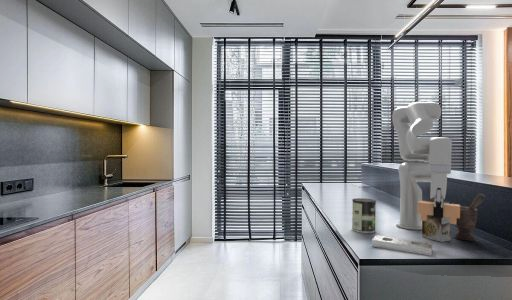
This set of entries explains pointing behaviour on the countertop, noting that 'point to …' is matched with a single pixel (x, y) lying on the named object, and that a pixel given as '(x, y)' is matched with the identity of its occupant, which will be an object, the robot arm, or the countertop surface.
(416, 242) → the flat gray board
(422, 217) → the orange pronged block
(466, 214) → the mortar and pestle
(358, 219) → the coffee can
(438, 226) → the coffee box
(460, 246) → the countertop surface
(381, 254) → the countertop surface
